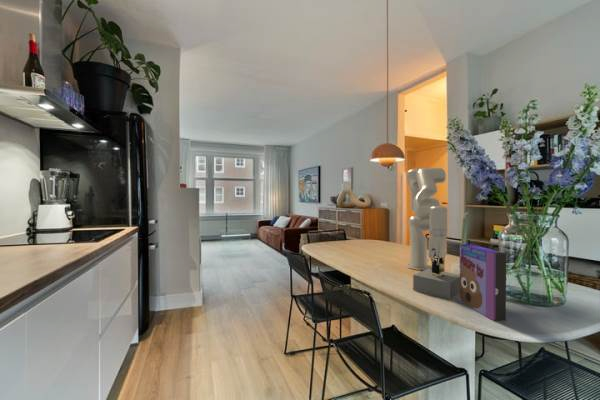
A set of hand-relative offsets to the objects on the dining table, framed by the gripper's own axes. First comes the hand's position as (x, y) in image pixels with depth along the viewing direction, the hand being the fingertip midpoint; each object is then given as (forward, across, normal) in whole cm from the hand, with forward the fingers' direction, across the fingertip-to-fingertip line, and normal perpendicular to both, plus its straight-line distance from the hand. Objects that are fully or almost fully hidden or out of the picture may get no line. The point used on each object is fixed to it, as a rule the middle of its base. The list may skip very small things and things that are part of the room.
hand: (438, 271), depth 127 cm
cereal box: (+9, +11, +20) cm, 24 cm away
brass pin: (+5, 0, 0) cm, 5 cm away
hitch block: (+9, 0, 0) cm, 9 cm away
